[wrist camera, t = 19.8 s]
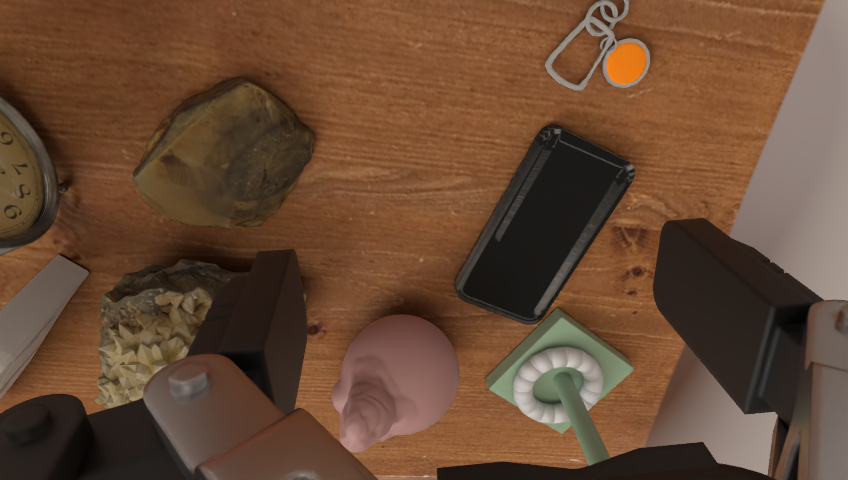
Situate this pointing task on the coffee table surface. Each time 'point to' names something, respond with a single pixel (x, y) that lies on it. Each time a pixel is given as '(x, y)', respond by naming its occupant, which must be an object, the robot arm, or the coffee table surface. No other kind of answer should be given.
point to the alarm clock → (24, 182)
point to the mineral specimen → (153, 323)
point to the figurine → (394, 381)
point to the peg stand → (564, 376)
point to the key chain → (620, 61)
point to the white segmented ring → (547, 362)
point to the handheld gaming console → (34, 315)
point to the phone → (543, 225)
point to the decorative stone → (224, 157)
